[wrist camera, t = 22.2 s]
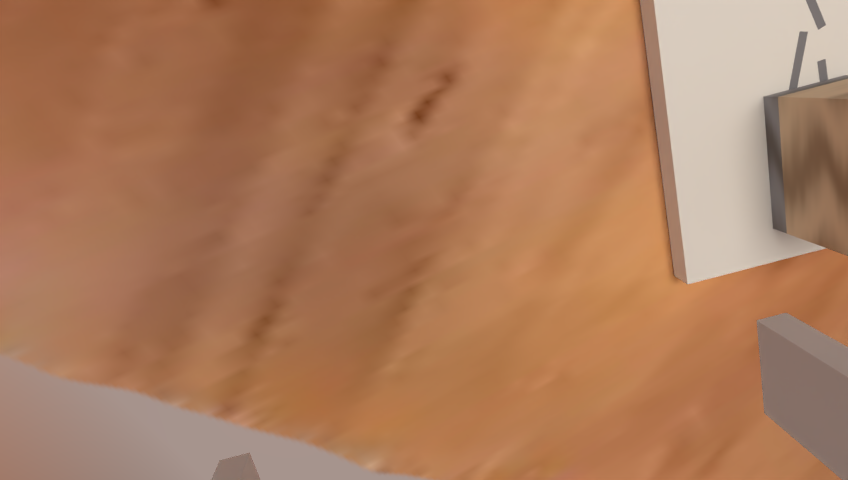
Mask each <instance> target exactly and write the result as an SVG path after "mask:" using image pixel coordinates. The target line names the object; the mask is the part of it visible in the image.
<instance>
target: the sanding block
mask: <svg viewBox="0 0 848 480" xmlns="http://www.w3.org/2000/svg"><path fill="white" fill-rule="evenodd" d="M763 99H764V113H765V126H766V140H767V154H768V168H769V181H770V195H771V209H772V223H773V229H776V230H778V231H781V232H784V233H787V234H789V235H792V236H795V237H797V238H800V239H803V240H806V241H808V242H811V243H814V244H817V245H819V246H822V247H825V248H827V249H830V250H833V251H836V252H838V253H841V254H844V255H847V256H848V75H844V76H840V77H836V78H832V79H828V80H825V81H821V82H817V83H813V84H809V85H806V86H802V87H798V88H794V89H790V90H786V91H783V92H779V93H775V94H771V95H767V96H764V97H763Z"/></svg>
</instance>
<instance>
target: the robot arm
mask: <svg viewBox="0 0 848 480" xmlns="http://www.w3.org/2000/svg"><path fill="white" fill-rule="evenodd" d="M757 329H758V341H759V353H760V365H761V377H762V390H763V402H764V413H765V414H766V415H767V416H768V417H770V418H771V419H772V420H773V421H774V422H775V423H777V424H778V425H779V426H780V427H781V428H782V429H784V430H785V431H786V432H787V433H788V434H789V435H791V436H792V437H793V438H794V439H795V440H796V441H798V442H799V443H800V444H801V445H802V446H804V447H805V448H806V449H807V450H808V451H809V452H811V453H812V454H813V455H814V456H815V457H816V458H818V459H819V460H820V461H821V462H822V463H823V464H825V465H826V466H827V467H828V468H829V469H830V470H832V471H833V472H834V473H835V474H836V475H837V476H839V477H840V478H841V479H842V480H848V347H846V346H845V345H843V344H841V343H839V342H838V341H836V340H834V339H832V338H830V337H829V336H827V335H825V334H823V333H821V332H820V331H818V330H816V329H814V328H813V327H811V326H809V325H807V324H805V323H804V322H802V321H800V320H798V319H796V318H795V317H793V316H791V315H789V314H788V313H783V314H780V315H776V316H772V317H768V318H764V319H760V320H757ZM212 480H260V478H259V475H258V473H257V470H256V468H255V465H254V463H253V460H252V458H251V455H250V453H247V454H244V455H240V456H236V457H232V458H228V459H224V460H221V461H220V462H219V464H218V466H217V468H216V471H215V473H214V475H213V478H212Z"/></svg>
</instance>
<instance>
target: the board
mask: <svg viewBox="0 0 848 480" xmlns="http://www.w3.org/2000/svg"><path fill="white" fill-rule="evenodd" d="M640 6H641V14H642V22H643V30H644V37H645V45H646V53H647V61H648V69H649V77H650V85H651V93H652V101H653V109H654V117H655V125H656V133H657V141H658V149H659V157H660V165H661V173H662V181H663V189H664V197H665V205H666V213H667V221H668V229H669V237H670V245H671V253H672V261H673V269H674V276H675V277H677V278H679V279H680V280H682V281H683V282H685V283H686V284H691V283H695V282H698V281H702V280H706V279H710V278H714V277H718V276H721V275H725V274H729V273H733V272H737V271H741V270H745V269H748V268H752V267H756V266H760V265H764V264H768V263H771V262H775V261H779V260H783V259H787V258H791V257H794V256H798V255H802V254H806V253H810V252H814V251H817V250H821V249H825V247H822V246H819V245H817V244H814V243H811V242H808V241H806V240H803V239H800V238H797V237H795V236H792V235H789V234H787V233H784V232H781V231H778V230H776V229H773V223H772V209H771V195H770V181H769V168H768V154H767V140H766V126H765V113H764V99H763V97H764V96H767V95H771V94H775V93H779V92H783V91H786V90H790V89H794V88H798V87H802V86H806V85H809V84H813V83H817V82H821V81H825V80H828V79H832V78H836V77H840V76H844V75H848V0H640Z"/></svg>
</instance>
